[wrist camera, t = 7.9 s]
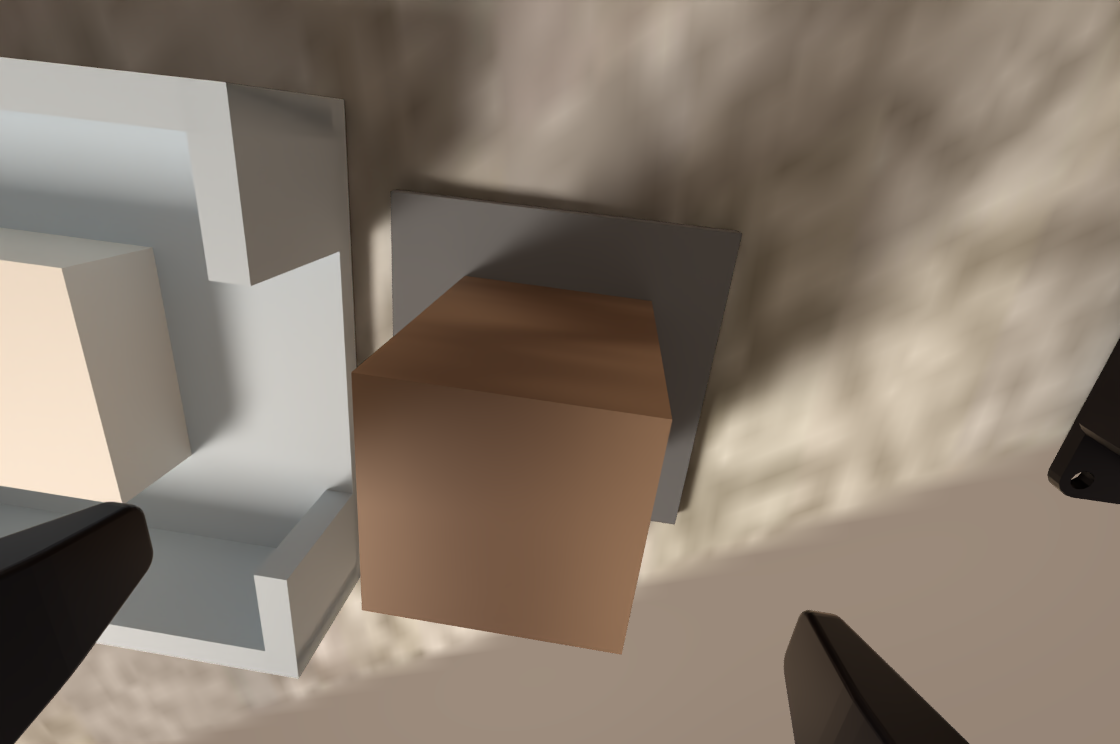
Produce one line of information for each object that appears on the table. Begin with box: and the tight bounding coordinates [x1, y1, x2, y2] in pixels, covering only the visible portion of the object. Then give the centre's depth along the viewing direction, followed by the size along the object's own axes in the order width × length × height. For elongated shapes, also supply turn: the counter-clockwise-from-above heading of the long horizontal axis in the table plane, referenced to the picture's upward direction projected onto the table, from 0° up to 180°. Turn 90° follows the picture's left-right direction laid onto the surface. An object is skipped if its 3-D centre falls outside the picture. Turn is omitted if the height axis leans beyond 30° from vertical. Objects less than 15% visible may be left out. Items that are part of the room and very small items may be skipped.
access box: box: [0, 57, 360, 679], centre depth 14 cm, size 16×14×4 cm
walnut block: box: [351, 276, 672, 654], centre depth 11 cm, size 4×4×6 cm
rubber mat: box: [391, 190, 742, 524], centre depth 14 cm, size 8×8×1 cm
